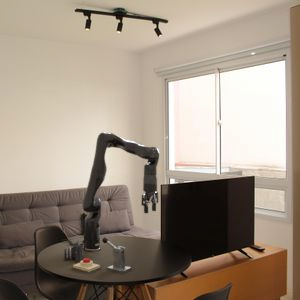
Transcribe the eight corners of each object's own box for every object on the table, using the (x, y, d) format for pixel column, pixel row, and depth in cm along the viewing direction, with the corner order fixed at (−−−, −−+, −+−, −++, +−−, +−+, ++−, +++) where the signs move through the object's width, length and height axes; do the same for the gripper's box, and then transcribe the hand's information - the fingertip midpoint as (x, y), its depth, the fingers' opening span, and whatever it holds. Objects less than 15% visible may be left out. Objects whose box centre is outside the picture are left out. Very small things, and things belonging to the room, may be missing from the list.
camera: (65, 255, 229) (64, 239, 229) (83, 255, 229) (83, 239, 229) (64, 263, 215) (64, 245, 215) (83, 263, 215) (83, 245, 215)
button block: (73, 269, 205) (73, 261, 204) (84, 265, 211) (84, 257, 211) (89, 273, 197) (89, 265, 197) (100, 269, 204) (99, 261, 204)
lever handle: (100, 241, 209) (102, 236, 208) (103, 240, 211) (105, 235, 210) (118, 255, 201) (120, 250, 200) (121, 254, 203) (123, 249, 203)
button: (81, 262, 204) (81, 259, 204) (86, 260, 207) (86, 257, 207) (86, 263, 202) (86, 260, 202) (91, 262, 204) (91, 258, 204)
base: (107, 269, 203) (106, 247, 203) (115, 266, 209) (115, 244, 209) (122, 273, 196) (122, 250, 196) (131, 269, 202) (131, 247, 202)
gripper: (150, 181, 221) (150, 209, 221) (137, 183, 210) (137, 213, 210) (162, 182, 216) (162, 211, 216) (149, 184, 205) (149, 214, 205)
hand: (150, 212), depth 213 cm, fingers open, 8 cm apart
